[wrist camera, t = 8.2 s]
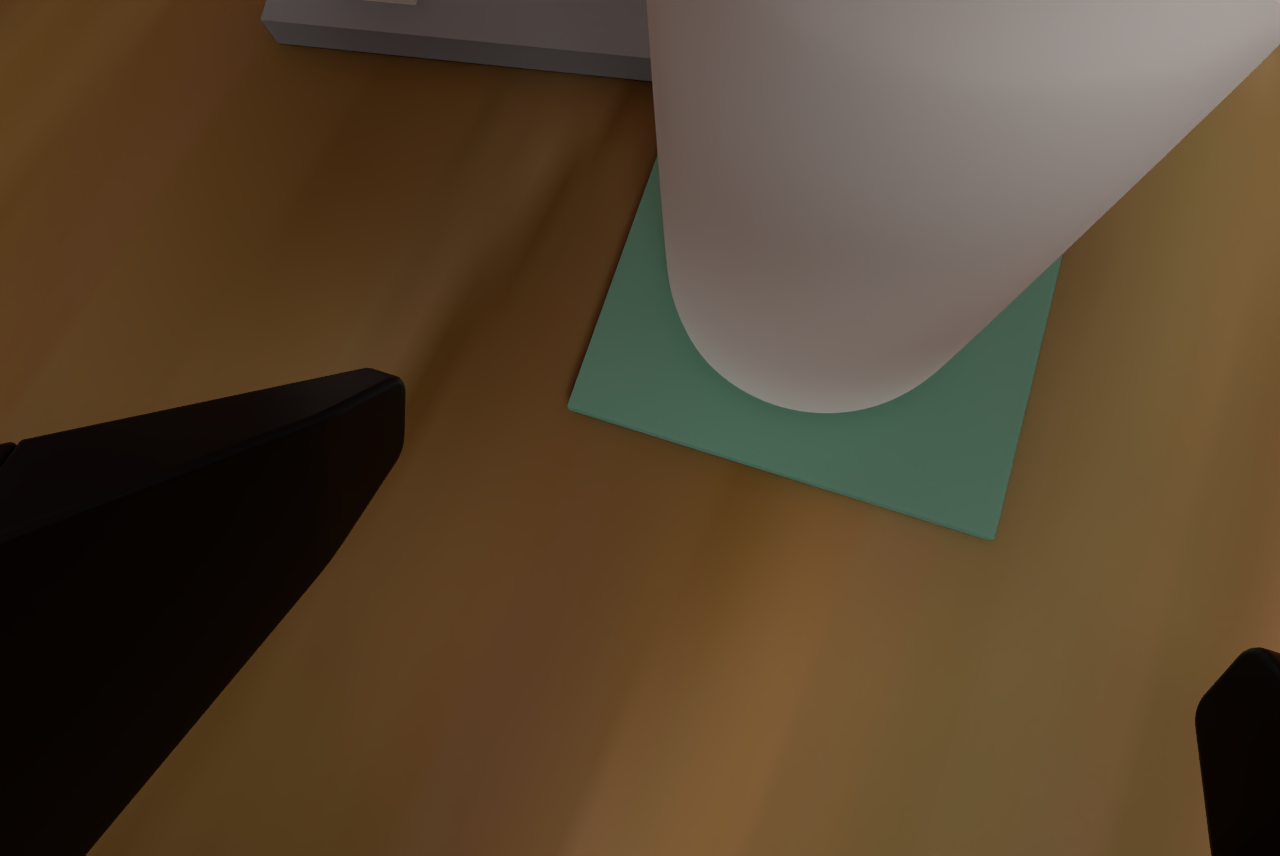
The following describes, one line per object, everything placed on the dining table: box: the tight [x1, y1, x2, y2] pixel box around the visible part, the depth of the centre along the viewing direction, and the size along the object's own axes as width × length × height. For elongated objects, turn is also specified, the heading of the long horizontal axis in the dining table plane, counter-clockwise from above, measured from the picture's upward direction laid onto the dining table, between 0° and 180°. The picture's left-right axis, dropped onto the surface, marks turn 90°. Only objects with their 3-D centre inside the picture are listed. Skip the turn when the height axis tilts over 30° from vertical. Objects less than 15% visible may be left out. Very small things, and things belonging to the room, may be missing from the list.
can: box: [646, 0, 1280, 413], centre depth 11 cm, size 6×6×12 cm
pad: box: [567, 155, 1063, 540], centre depth 17 cm, size 9×9×1 cm
